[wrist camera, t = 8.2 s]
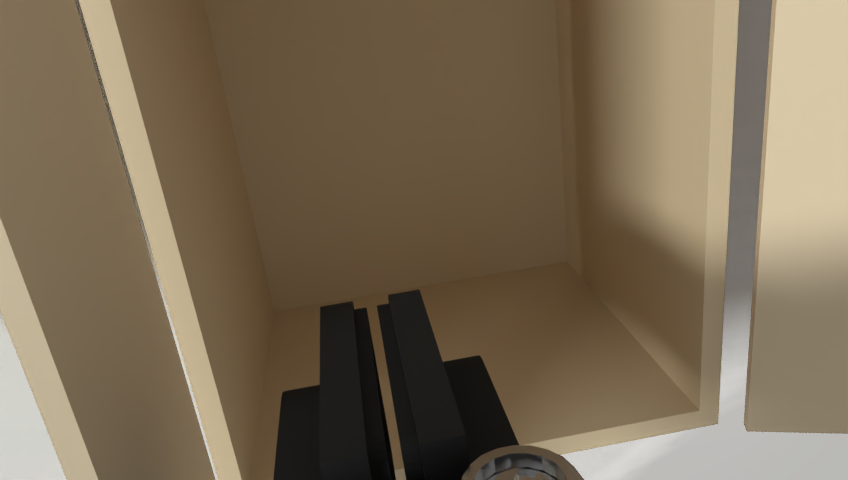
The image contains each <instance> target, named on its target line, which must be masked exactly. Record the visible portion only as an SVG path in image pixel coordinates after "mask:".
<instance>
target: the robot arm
mask: <svg viewBox="0 0 848 480" xmlns="http://www.w3.org/2000/svg"><path fill="white" fill-rule="evenodd" d="M388 301H389V303H388V304H382V305H377V310H378V316H379V322H380V328H381V334H382V340H383V346H384V352H385V358H386V364H387V370H388V376H389V381H390V387H391V393H392V399H393V405H394V411H395V417H396V423H397V429H398V435H399V441H400V447H401V453H402V459H403V464H404V470H405V476H406V480H584V479H583V478H582V477H581V475H580V474H579V473H578V471H577V470H576V469H575V468H574V467H573V466H572V465H571V464H570V463H569V462H568V461H567V460H566V459H565V458H564V457H562V456H560V455H558V454H556V453H554V452H552V451H550V450H548V449H544V448H540V447H536V446H531V445H519V443H518V441H517V439H516V436H515V434H514V432H513V429H512V427H511V425H510V422H509V420H508V418H507V415H506V413H505V411H504V408H503V406H502V404H501V401H500V399H499V397H498V394H497V392H496V390H495V387H494V385H493V383H492V380H491V378H490V376H489V373H488V371H487V369H486V366H485V364H484V362H483V360H482V358H481V356H479V355H477V356H471V357H466V358H461V359H455V360H450V361H444V362H443V361H442V358H441V355H440V352H439V349H438V345H437V342H436V339H435V336H434V333H433V330H432V327H431V324H430V321H429V317H428V314H427V311H426V308H425V305H424V302H423V299H422V296H421V292H420V290H413V291H407V292H401V293H396V294H390V295H388ZM273 480H396V477H395V470H394V463H393V457H392V451H391V445H390V439H389V433H388V427H387V421H386V416H385V410H384V404H383V399H382V393H381V387H380V381H379V376H378V370H377V364H376V359H375V353H374V347H373V341H372V336H371V330H370V324H369V319H368V313H367V308H366V307H365V308H360V309H354V305H353V301H350V302H344V303H339V304H333V305H327V306H322V307H320V385H315V386H309V387H304V388H299V389H293V390H288V391H284V392H283V393H282V397H281V406H280V416H279V426H278V436H277V446H276V457H275V467H274V477H273Z"/></svg>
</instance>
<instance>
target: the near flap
mask: <svg viewBox="0 0 848 480" xmlns="http://www.w3.org/2000/svg"><path fill="white" fill-rule="evenodd" d="M0 312H1V315H2V317H3V320H4V322H5V325H6V327H7V330H8V332H9V335H10V337H11V340H12V342H13V345H14V347H15V350H16V353H17V355H18V358H19V360H20V363H21V365H22V368H23V370H24V373H25V375H26V378H27V380H28V383H29V385H30V388H31V391H32V393H33V396H34V398H35V401H36V403H37V406H38V408H39V411H40V413H41V416H42V418H43V421H44V423H45V426H46V428H47V431H48V434H49V436H50V439H51V441H52V444H53V446H54V449H55V451H56V454H57V456H58V459H59V461H60V464H61V466H62V469H63V472H64V474H65V477H66V479H67V480H215V477H214V474H213V470H212V467H211V463H210V460H209V456H208V453H207V450H206V446H205V443H204V439H203V436H202V433H201V429H200V426H199V422H198V419H197V415H196V412H195V409H194V405H193V402H192V398H191V395H190V392H189V388H188V385H187V381H186V378H185V375H184V371H183V368H182V364H181V361H180V357H179V354H178V351H177V347H176V344H175V340H174V337H173V334H172V330H171V327H170V323H169V320H168V316H167V313H166V310H165V306H164V303H163V299H162V296H161V293H160V289H159V286H158V282H157V279H156V276H155V272H154V269H153V265H152V262H151V258H150V255H149V252H148V248H147V245H146V241H145V238H144V235H143V231H142V228H141V224H140V221H139V217H138V214H137V211H136V207H135V204H134V200H133V197H132V194H131V190H130V187H129V183H128V180H127V177H126V173H125V170H124V166H123V163H122V159H121V156H120V153H119V149H118V146H117V142H116V139H115V136H114V132H113V129H112V125H111V122H110V119H109V115H108V112H107V108H106V105H105V101H104V98H103V95H102V91H101V88H100V84H99V81H98V78H97V74H96V71H95V67H94V64H93V60H92V57H91V54H90V50H89V47H88V43H87V40H86V37H85V33H84V30H83V26H82V23H81V20H80V16H79V13H78V9H77V6H76V2H75V0H0Z"/></svg>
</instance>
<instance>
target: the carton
mask: <svg viewBox="0 0 848 480" xmlns="http://www.w3.org/2000/svg"><path fill="white" fill-rule="evenodd" d="M79 3H80V6H81V10H82V13H83V16H84V20H85V23H86V27H87V30H88V34H89V37H90V41H91V44H92V47H93V51H94V54H95V58H96V61H97V65H98V68H99V71H100V75H101V78H102V82H103V85H104V89H105V92H106V96H107V99H108V102H109V106H110V109H111V113H112V116H113V120H114V123H115V126H116V130H117V133H118V137H119V140H120V144H121V147H122V151H123V154H124V157H125V161H126V164H127V168H128V171H129V175H130V178H131V181H132V185H133V188H134V192H135V195H136V199H137V202H138V206H139V209H140V212H141V216H142V219H143V223H144V226H145V230H146V233H147V236H148V240H149V243H150V247H151V250H152V254H153V257H154V261H155V264H156V267H157V271H158V274H159V278H160V281H161V285H162V288H163V291H164V295H165V298H166V302H167V305H168V309H169V312H170V316H171V319H172V322H173V326H174V329H175V333H176V336H177V340H178V343H179V346H180V350H181V353H182V357H183V360H184V364H185V367H186V371H187V374H188V377H189V381H190V384H191V388H192V391H193V395H194V398H195V401H196V405H197V408H198V412H199V415H200V419H201V422H202V426H203V429H204V432H205V436H206V439H207V443H208V446H209V450H210V453H211V456H212V460H213V463H214V467H215V470H216V474H217V477H218V480H273V477H274V467H275V457H276V446H277V436H278V426H279V416H280V406H281V397H282V393H283V392H284V391H288V390H293V389H299V388H304V387H309V386H315V385H320V307H322V306H327V305H333V304H339V303H344V302H350V301H353V305H354V309H360V308H365V307H366V308H367V313H368V319H369V324H370V330H371V336H372V341H373V347H374V353H375V359H376V364H377V370H378V376H379V381H380V387H381V393H382V399H383V404H384V410H385V416H386V421H387V427H388V433H389V439H390V445H391V451H392V457H393V463H394V470H395V477H396V480H406V476H405V470H404V464H403V459H402V453H401V447H400V441H399V435H398V429H397V423H396V417H395V411H394V405H393V399H392V393H391V387H390V381H389V376H388V370H387V364H386V358H385V352H384V346H383V340H382V334H381V328H380V322H379V316H378V310H377V305H382V304H388V303H389V301H388V295H390V294H396V293H401V292H407V291H413V290H420V292H421V296H422V299H423V302H424V305H425V308H426V311H427V314H428V317H429V321H430V324H431V327H432V330H433V333H434V336H435V339H436V342H437V345H438V349H439V352H440V355H441V358H442V361H443V362H444V361H450V360H455V359H461V358H466V357H471V356H477V355H479V356H481V358H482V360H483V362H484V364H485V366H486V369H487V371H488V373H489V376H490V378H491V380H492V383H493V385H494V387H495V390H496V392H497V394H498V397H499V399H500V401H501V404H502V406H503V408H504V411H505V413H506V415H507V418H508V420H509V422H510V425H511V427H512V429H513V432H514V434H515V436H516V439H517V441H518V443H519V445H531V446H536V447H540V448H544V449H548V450H550V451H552V452H554V453H556V454H558V455H561V454H566V453H572V452H577V451H582V450H587V449H592V448H597V447H602V446H607V445H612V444H617V443H623V442H628V441H633V440H638V439H643V438H648V437H653V436H658V435H663V434H668V433H674V432H679V431H684V430H689V429H694V428H699V427H704V426H709V425H714V424H718V414H719V394H720V374H721V354H722V334H723V314H724V294H725V274H726V254H727V234H728V214H729V194H730V174H731V154H732V134H733V114H734V94H735V74H736V54H737V34H738V14H739V0H79Z"/></svg>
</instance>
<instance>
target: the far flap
mask: <svg viewBox="0 0 848 480" xmlns="http://www.w3.org/2000/svg"><path fill="white" fill-rule="evenodd" d="M744 425H745V428H746V430H747V431H756V432H799V433H801V432H802V433H845V434H846V433H847V434H848V0H772V10H771V25H770V40H769V55H768V70H767V84H766V99H765V114H764V129H763V144H762V159H761V174H760V189H759V204H758V219H757V234H756V249H755V264H754V278H753V293H752V308H751V323H750V338H749V353H748V368H747V383H746V398H745V413H744Z"/></svg>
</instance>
